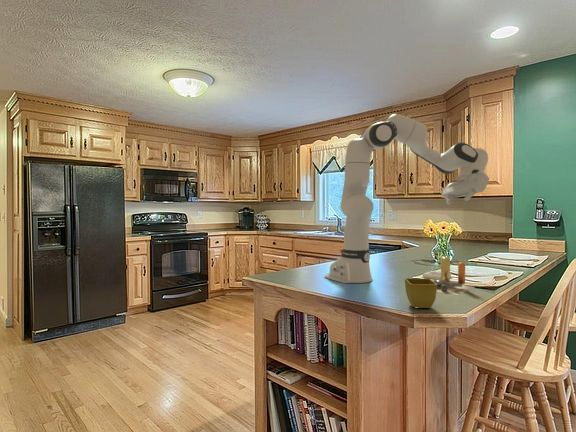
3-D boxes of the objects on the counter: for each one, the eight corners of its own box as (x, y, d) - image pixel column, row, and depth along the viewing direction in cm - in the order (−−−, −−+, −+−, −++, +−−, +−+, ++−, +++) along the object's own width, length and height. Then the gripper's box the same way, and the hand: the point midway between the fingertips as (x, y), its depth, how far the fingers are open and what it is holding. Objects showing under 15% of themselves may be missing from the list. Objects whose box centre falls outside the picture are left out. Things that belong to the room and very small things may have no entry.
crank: (433, 285, 144) (433, 262, 143) (433, 282, 148) (433, 260, 148) (465, 287, 140) (465, 264, 139) (464, 285, 144) (464, 262, 143)
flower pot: (429, 303, 126) (430, 278, 125) (437, 311, 117) (437, 284, 117) (404, 303, 127) (404, 278, 126) (410, 311, 118) (410, 284, 118)
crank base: (412, 288, 146) (412, 281, 146) (431, 281, 158) (431, 274, 158) (457, 296, 133) (457, 289, 133) (475, 288, 145) (475, 281, 145)
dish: (422, 278, 164) (422, 273, 164) (431, 275, 170) (431, 270, 170) (442, 281, 157) (442, 276, 157) (450, 278, 163) (451, 273, 163)
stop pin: (439, 283, 151) (439, 257, 151) (442, 282, 154) (443, 256, 153) (447, 285, 149) (447, 258, 148) (451, 283, 151) (451, 257, 150)
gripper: (445, 179, 169) (433, 201, 164) (484, 168, 151) (472, 192, 146) (453, 188, 171) (442, 209, 166) (493, 178, 152) (482, 202, 147)
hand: (457, 201), depth 156 cm, fingers open, 8 cm apart
